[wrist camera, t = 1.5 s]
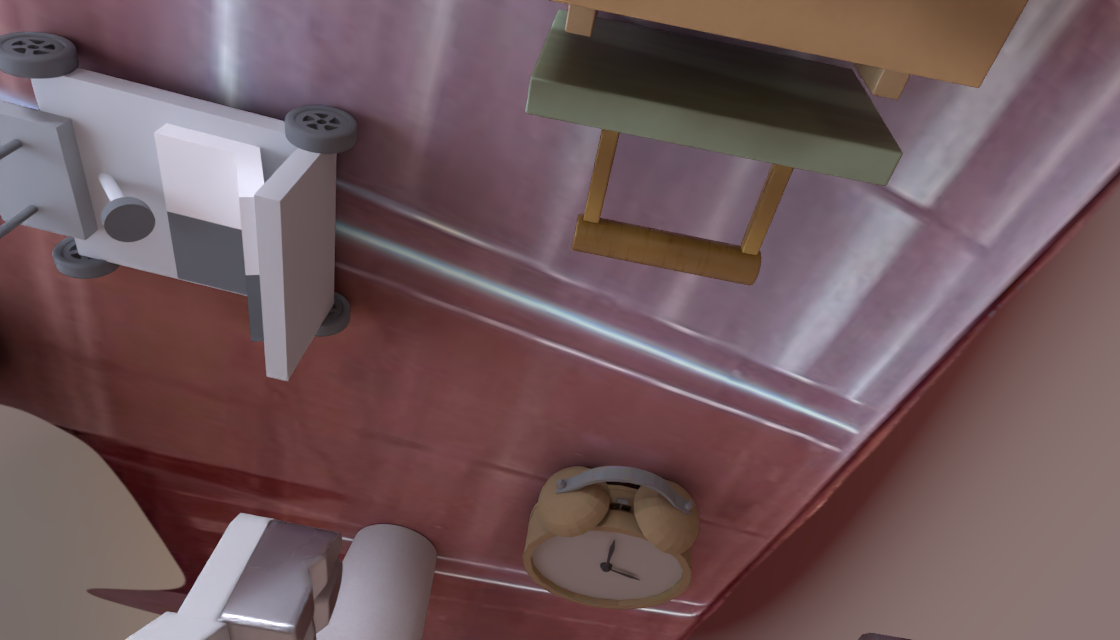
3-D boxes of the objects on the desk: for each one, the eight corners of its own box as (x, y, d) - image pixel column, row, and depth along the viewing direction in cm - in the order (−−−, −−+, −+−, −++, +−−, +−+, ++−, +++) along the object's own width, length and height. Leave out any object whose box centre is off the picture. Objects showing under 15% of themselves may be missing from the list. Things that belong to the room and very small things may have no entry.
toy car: (-128, 346, 30) (-272, 93, 23) (30, 227, 38) (-39, 8, 30) (283, 442, 31) (272, 229, 24) (357, 308, 39) (367, 114, 31)
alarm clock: (517, 595, 50) (527, 505, 39) (528, 531, 54) (540, 429, 42) (671, 621, 50) (726, 537, 39) (673, 554, 53) (724, 459, 42)
